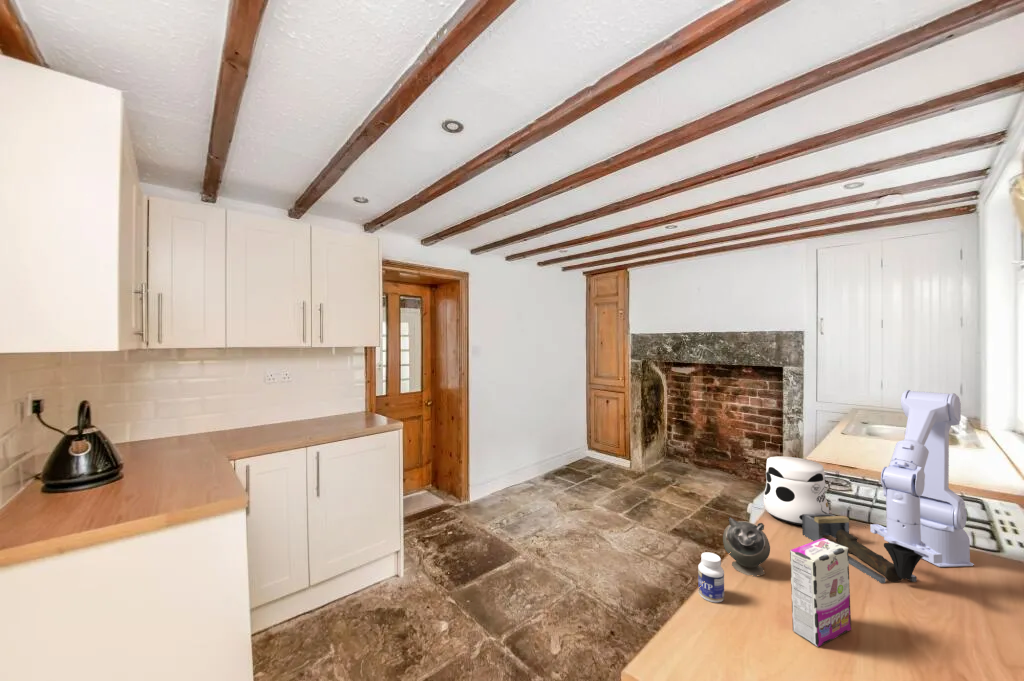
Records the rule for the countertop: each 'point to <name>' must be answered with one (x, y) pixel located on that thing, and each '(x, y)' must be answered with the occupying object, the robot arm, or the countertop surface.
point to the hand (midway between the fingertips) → (904, 577)
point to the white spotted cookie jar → (794, 488)
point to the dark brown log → (867, 555)
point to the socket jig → (829, 525)
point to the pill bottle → (711, 578)
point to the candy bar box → (820, 591)
